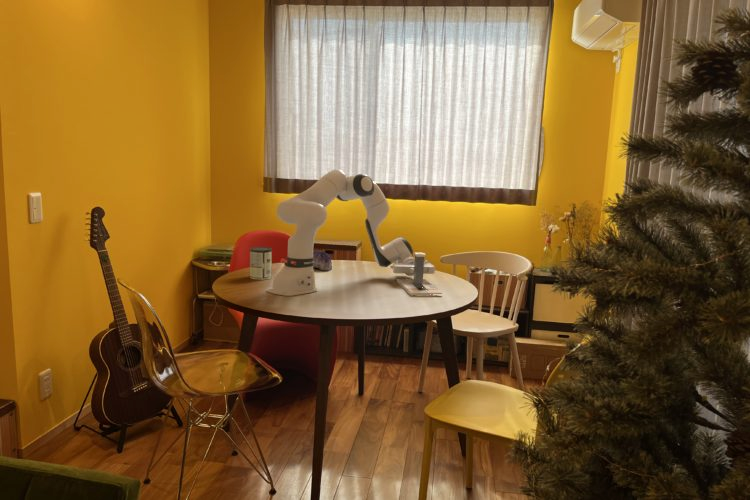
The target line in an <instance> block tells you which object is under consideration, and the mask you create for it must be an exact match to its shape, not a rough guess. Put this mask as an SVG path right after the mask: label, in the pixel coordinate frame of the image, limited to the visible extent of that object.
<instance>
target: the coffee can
mask: <svg viewBox="0 0 750 500" xmlns="http://www.w3.org/2000/svg"><path fill="white" fill-rule="evenodd" d="M272 253H273V248H271V247H270V246H269V247H268V246H254V247H250V248H249V279H252V280H256V281H258V280H259V281H266V280H270V279H272V265H273V264H272V263H273V262H272V260H273V259H272V258H273V257H272Z"/></svg>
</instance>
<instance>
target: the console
mask: <svg viewBox="0 0 750 500" xmlns="http://www.w3.org/2000/svg"><path fill="white" fill-rule="evenodd" d="M413 281H414V278H409V279H408V278H397V279H396V283H397V282H398V283H399V284H400V285H401V286H402V287H403V288H404V289H405V290H406V291H407V292H408V293H409V294H410V295H430V294H431V295H433V294H442V295H443V292H441V291H440V290H439V289H438V288H437V287H435V286H434V285H433V284H432V283H430V282H429V281H428V280H427V279H425V278H423V286H422V287H423V288H424V289H425V290H427V291H425V290H419V289H417V288H416V287H415V286H414V285H413ZM398 283H397V284H398ZM399 284H398V285H399ZM400 285H399V286H400ZM401 286H400V287H401ZM402 287H401V288H402ZM403 288H402V289H403ZM404 289H403V290H404ZM405 290H404V291H405ZM406 291H405V292H406ZM407 292H406V293H407ZM408 293H407V294H408ZM409 294H408V295H409ZM410 295H409V296H410Z"/></svg>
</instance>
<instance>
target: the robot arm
mask: <svg viewBox="0 0 750 500" xmlns="http://www.w3.org/2000/svg"><path fill="white" fill-rule="evenodd" d="M335 199H337V200H338V201H340V202H349V201H353V200H358V199H360V200H361V201H362V205H363V206H364V208H365V211H366V219H365V220H364V221H365V228H366V232H367V235H368V238H369V241H370V245H371V248H372V251H373V254H374V255H373V256H374V260H375V263H376V264H377V265H378V266H379V267H382V268H387V267H389V266H390V269H392V272H393V273H394V274H405V276H408V277H414V264H415V257H413V255H414V251H413V250H414V249H413V247H412V245H411V244H410V243H409V241H408V239H406V238H404V237H400V236H399V237H397V238H395V239H393V240H391V241H390V242H388V243H386V244H384V245H382V246H381V243H380V239H379V236H378V229H379V227H380V226H381V224H382V223H383V222H384V221H385V219H386V218H387V216H388V215H389V211H390V206H389V203H388V201H387V199H386V196H385V194H384V192H383V191H382V189H381V188H380V187H379V185H378V184H377V183H376V182H375V181H373V179H372V178H371V177H370V176H369V175H367V174H366V173H359V174H355V175H350V176H347V174H345V172H344V171H342V170H341V169H336V168H334V169H332V170H330V171H328V172H327V173H325V174H324V175H322V177H320V178H319V179H318V180H317V181H316V182H315V183H314V184H312V185H311V186H310V187H309V188H308V189H306V190H304V191H302V192H300V193H298V194H296V195H295V196H293V197H290V198H287V199H285V200H284V199H283V200H282V201H280V202H279V204H278V205H277V207H276V215H277V218H278V219H279V220H280V221H281V222H283V223H286V224H287V225H293V226H296V229H295V232H294V234H292V235H290V236H289V238H288V240H287V256H286V258H281V259H280V263H281V264H284V266H283V267H282V268H281V269H280V270H279V272H278V273H276V274H275V276H274V277H273V279H272V286H271V287H267V289H266V292H267V293H270V294H274V295H278V296H285V297H286V296H287V297H292V296H297V295H303V294H308V293H316V292H317V288H316V280H315V279H316V278H315V277H316V276H315V270H314V268H313V265H314V257H313V252H314V245H315V244H314V243H315V239H316V238H315V237H316V235H317V232H318V230H319V229H320V228H321V227H322V226H323V225H324V224H325V223H326V221H327V218H328V212H327V209H326V208H327V207H328V206H329V205H331V203H332V202H333V201H334V200H335ZM395 262H396V263H395ZM435 271H436V267H435V265H434V264H432V263H430V262H429V261H428V260H427V259H424V270H423V275H425V274H426V275H428V274H429V275H434V274H436V273H435Z"/></svg>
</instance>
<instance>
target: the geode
mask: <svg viewBox="0 0 750 500" xmlns="http://www.w3.org/2000/svg"><path fill="white" fill-rule="evenodd" d="M313 257H314V265H313V269H317V270H320V271H321V272H330V271H332V269H333V266H332V265H333V262H332V254H329V253H328V252H327V253H326V252H324V251H322V250H317V249H316V250H313Z"/></svg>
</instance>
